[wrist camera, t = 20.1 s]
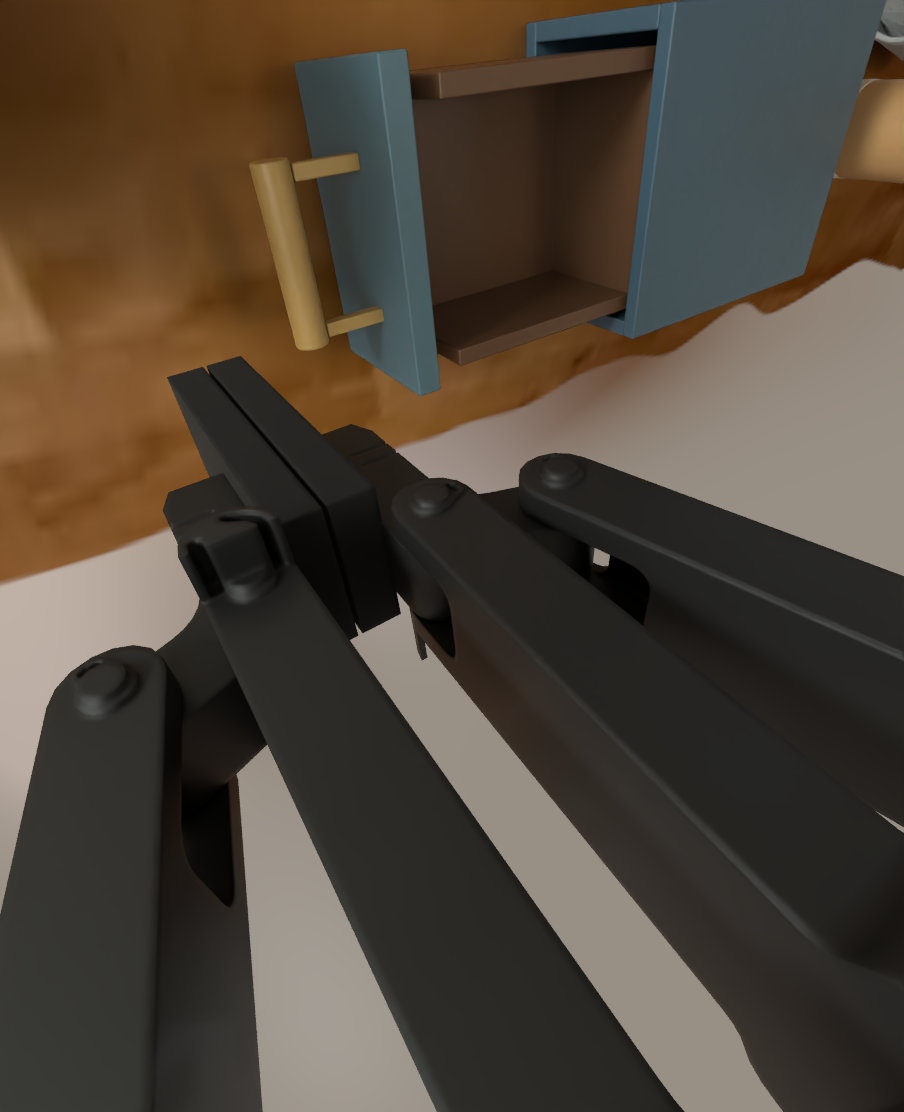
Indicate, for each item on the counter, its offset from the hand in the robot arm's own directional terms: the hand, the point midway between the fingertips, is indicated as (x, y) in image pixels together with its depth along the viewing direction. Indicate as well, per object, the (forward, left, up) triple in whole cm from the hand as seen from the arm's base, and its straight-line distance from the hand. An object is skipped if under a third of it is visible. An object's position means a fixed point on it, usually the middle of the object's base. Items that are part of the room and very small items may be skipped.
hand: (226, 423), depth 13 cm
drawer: (+9, +12, -18) cm, 23 cm away
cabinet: (+19, +25, -18) cm, 36 cm away
